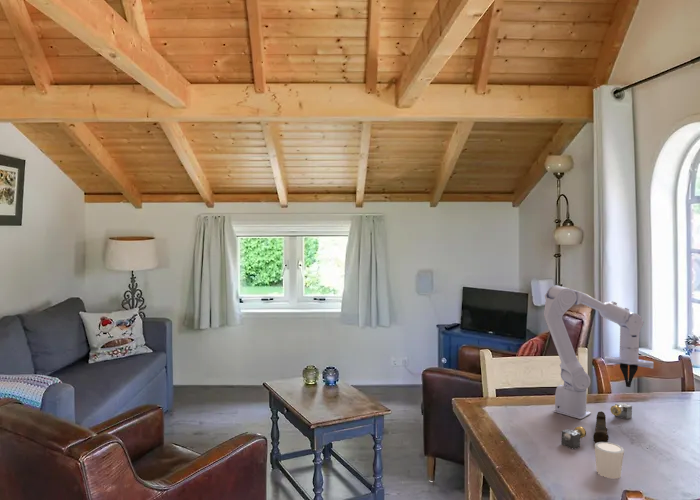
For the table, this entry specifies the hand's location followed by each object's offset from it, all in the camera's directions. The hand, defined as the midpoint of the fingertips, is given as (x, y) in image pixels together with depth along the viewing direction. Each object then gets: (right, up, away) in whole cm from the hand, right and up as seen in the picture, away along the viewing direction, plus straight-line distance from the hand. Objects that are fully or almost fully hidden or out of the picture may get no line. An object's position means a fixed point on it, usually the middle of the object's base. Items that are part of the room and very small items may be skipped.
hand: (628, 386), depth 176 cm
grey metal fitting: (-29, -11, -25) cm, 40 cm away
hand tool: (-18, -11, -16) cm, 27 cm away
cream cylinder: (-28, -12, -43) cm, 53 cm away
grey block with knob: (-4, -10, -4) cm, 11 cm away
